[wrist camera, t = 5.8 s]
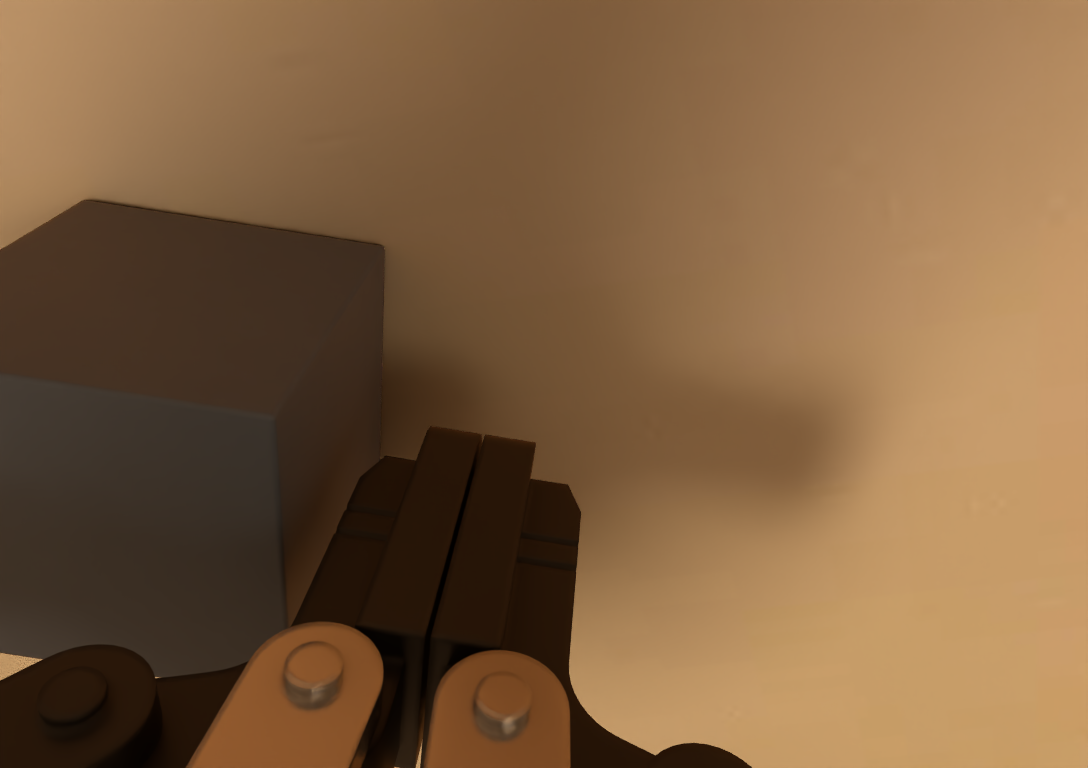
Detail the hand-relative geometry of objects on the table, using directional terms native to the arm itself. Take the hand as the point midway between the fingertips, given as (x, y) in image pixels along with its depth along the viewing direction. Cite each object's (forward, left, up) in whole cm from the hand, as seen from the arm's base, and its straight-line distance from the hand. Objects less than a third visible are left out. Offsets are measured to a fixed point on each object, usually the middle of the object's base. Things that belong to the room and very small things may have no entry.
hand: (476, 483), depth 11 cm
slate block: (0, -4, -2) cm, 5 cm away
